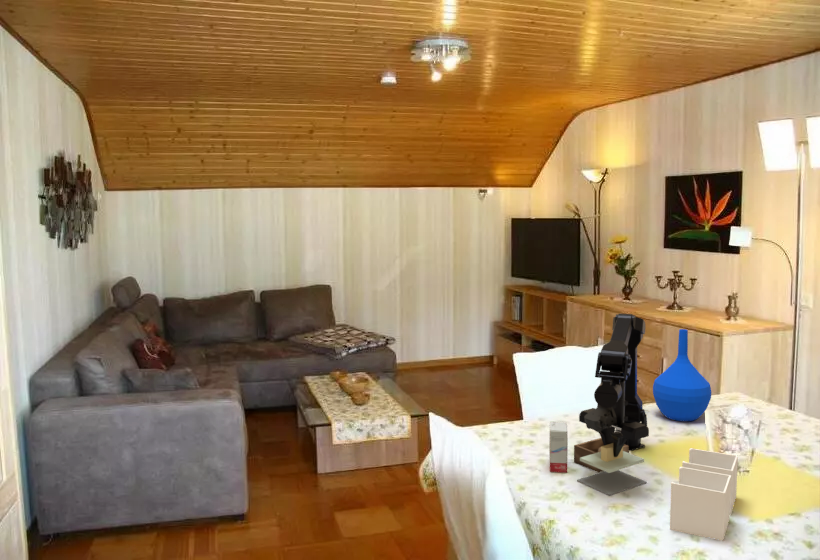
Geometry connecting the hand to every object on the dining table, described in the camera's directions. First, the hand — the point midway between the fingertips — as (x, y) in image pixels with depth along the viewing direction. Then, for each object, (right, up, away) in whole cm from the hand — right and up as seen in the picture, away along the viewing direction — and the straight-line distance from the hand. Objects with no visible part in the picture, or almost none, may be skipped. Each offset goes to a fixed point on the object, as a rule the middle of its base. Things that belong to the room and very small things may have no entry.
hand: (612, 455), depth 182 cm
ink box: (-12, -6, +12) cm, 18 cm away
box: (+1, -6, +14) cm, 15 cm away
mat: (0, -7, +1) cm, 7 cm away
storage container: (+17, -10, -18) cm, 26 cm away
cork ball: (+2, -3, +17) cm, 17 cm away
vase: (+39, -1, +54) cm, 66 cm away
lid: (0, -2, 0) cm, 2 cm away
